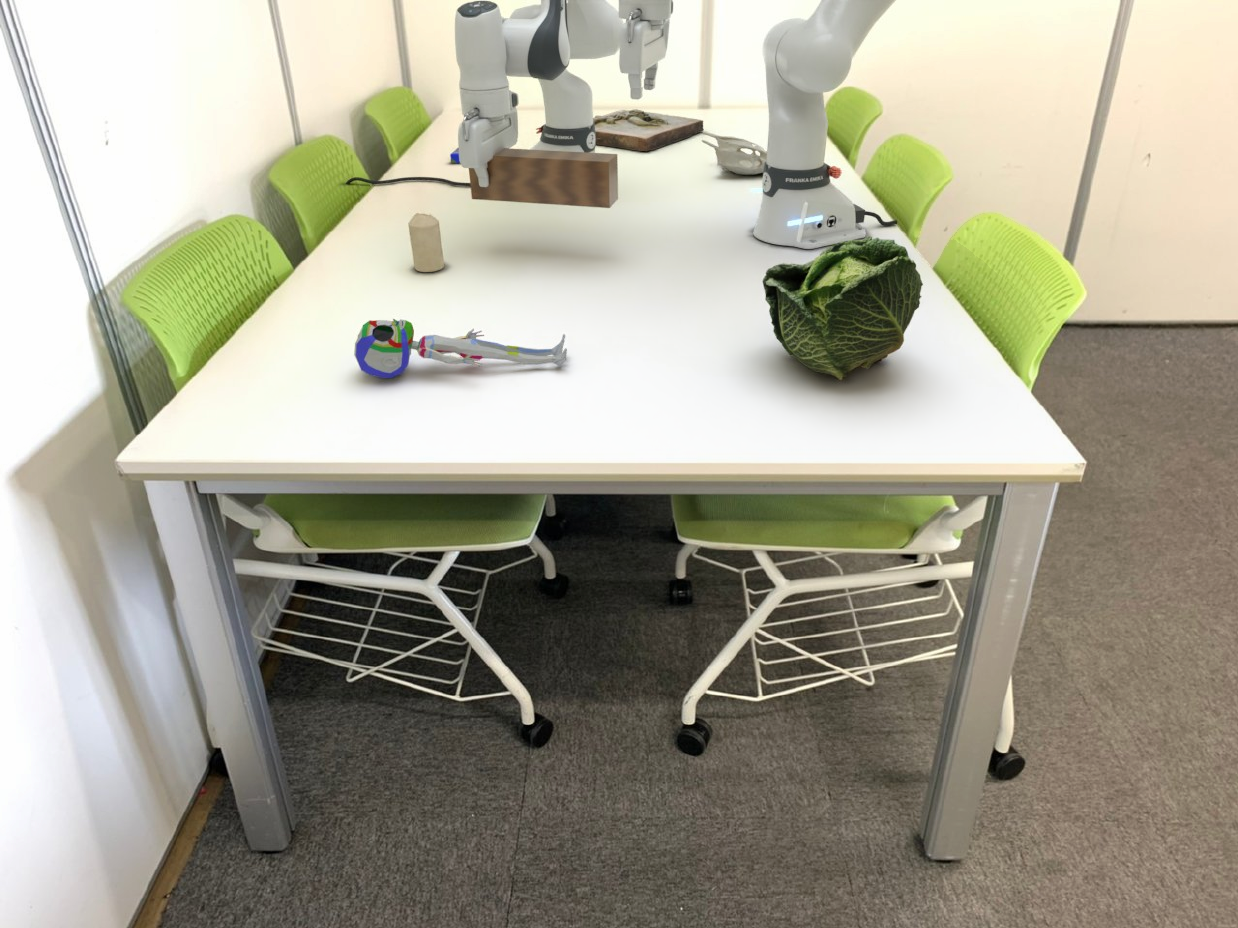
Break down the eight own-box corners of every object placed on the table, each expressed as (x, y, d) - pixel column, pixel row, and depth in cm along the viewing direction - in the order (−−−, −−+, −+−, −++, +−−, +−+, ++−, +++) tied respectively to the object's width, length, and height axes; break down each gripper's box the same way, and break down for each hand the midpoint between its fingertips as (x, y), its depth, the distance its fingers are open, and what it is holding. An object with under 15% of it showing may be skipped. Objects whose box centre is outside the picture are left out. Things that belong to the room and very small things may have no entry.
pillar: (477, 137, 250) (458, 155, 233) (478, 145, 251) (458, 163, 234) (469, 137, 250) (449, 154, 233) (470, 145, 251) (450, 163, 235)
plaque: (647, 125, 237) (559, 112, 252) (647, 153, 241) (560, 139, 256) (706, 107, 258) (622, 97, 273) (705, 133, 262) (622, 121, 277)
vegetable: (793, 390, 139) (734, 280, 131) (892, 320, 140) (840, 208, 132) (858, 421, 121) (795, 296, 113) (972, 341, 122) (917, 212, 114)
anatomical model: (704, 128, 226) (804, 127, 222) (703, 165, 231) (801, 165, 227) (699, 142, 214) (805, 141, 210) (699, 181, 219) (803, 181, 215)
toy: (569, 347, 126) (349, 329, 122) (563, 400, 131) (350, 385, 126) (565, 318, 135) (359, 301, 130) (559, 369, 139) (360, 354, 134)
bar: (471, 199, 169) (467, 154, 165) (483, 190, 174) (479, 147, 169) (609, 208, 163) (608, 162, 158) (618, 199, 168) (617, 154, 163)
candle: (449, 263, 170) (443, 211, 164) (435, 273, 165) (428, 220, 160) (423, 261, 171) (416, 208, 166) (409, 270, 167) (401, 217, 161)
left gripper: (479, 115, 153) (486, 197, 160) (521, 93, 169) (526, 168, 177) (445, 114, 154) (454, 195, 161) (490, 92, 171) (497, 166, 178)
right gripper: (648, 13, 142) (646, 106, 149) (675, 1, 158) (672, 85, 166) (610, 12, 143) (609, 103, 151) (641, 0, 160) (639, 83, 167)
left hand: (492, 180), depth 169 cm, fingers closed on bar, 6 cm apart
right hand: (643, 94), depth 158 cm, fingers open, 8 cm apart
